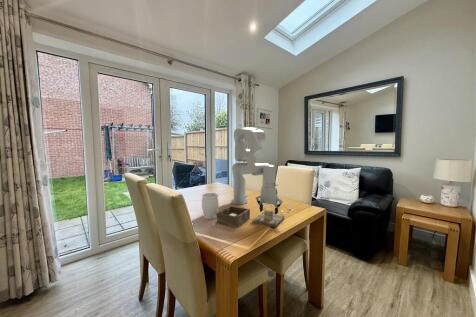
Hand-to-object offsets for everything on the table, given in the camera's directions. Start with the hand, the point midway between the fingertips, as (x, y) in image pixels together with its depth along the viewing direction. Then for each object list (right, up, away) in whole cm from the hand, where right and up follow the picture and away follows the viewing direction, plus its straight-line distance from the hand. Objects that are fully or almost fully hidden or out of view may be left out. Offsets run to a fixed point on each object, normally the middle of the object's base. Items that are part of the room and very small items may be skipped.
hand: (268, 212), depth 131 cm
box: (-22, -6, -1) cm, 22 cm away
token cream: (-22, -4, +3) cm, 22 cm away
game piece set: (+9, -4, +22) cm, 24 cm away
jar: (-37, -5, +7) cm, 38 cm away
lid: (0, -5, +1) cm, 5 cm away
